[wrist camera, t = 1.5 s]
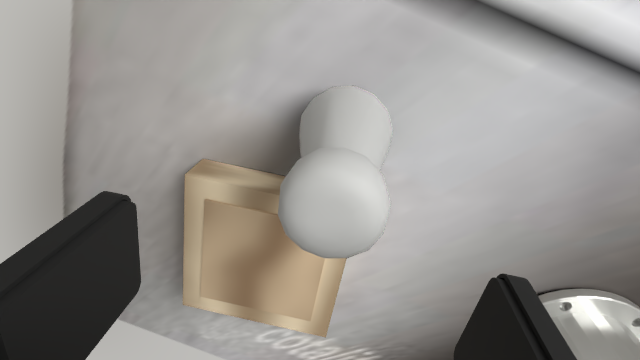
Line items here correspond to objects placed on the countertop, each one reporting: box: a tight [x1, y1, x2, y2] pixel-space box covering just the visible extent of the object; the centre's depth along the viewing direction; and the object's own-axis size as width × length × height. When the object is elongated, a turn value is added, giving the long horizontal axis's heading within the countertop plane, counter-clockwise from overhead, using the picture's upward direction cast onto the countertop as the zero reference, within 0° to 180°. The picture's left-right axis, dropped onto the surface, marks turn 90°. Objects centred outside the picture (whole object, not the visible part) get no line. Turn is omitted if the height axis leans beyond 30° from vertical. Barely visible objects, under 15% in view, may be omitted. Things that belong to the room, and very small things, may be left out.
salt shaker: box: [278, 86, 393, 258], centre depth 19 cm, size 6×6×13 cm
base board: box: [183, 159, 347, 337], centre depth 28 cm, size 12×12×3 cm
